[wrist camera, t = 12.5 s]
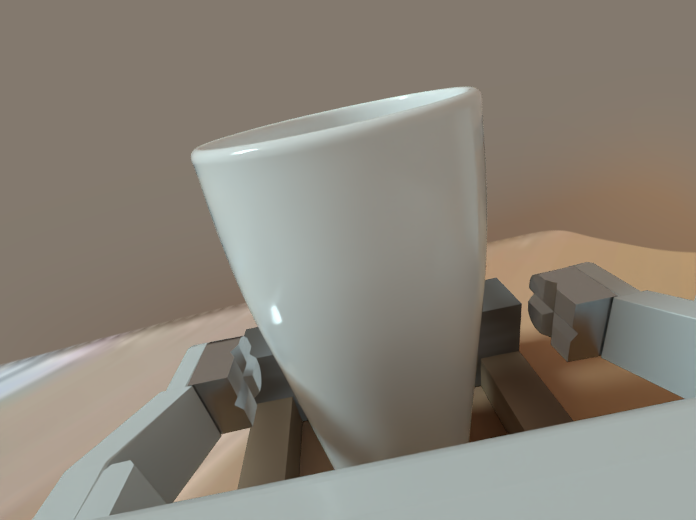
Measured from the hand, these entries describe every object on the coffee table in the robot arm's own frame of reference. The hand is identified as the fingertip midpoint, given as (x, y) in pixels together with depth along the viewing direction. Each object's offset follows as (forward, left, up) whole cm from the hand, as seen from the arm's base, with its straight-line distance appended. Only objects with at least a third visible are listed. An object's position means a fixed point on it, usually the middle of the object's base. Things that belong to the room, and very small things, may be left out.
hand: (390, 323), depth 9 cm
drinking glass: (0, +1, -10) cm, 10 cm away
